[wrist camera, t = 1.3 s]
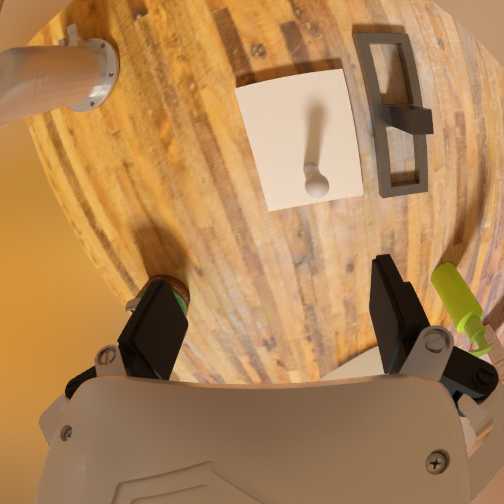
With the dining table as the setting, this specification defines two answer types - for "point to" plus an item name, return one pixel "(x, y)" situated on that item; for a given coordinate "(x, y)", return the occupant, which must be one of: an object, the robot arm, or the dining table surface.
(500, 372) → the cracker box
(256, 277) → the dining table surface
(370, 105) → the grey frame with handle
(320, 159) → the white pegged base
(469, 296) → the soap dispenser
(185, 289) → the food container
